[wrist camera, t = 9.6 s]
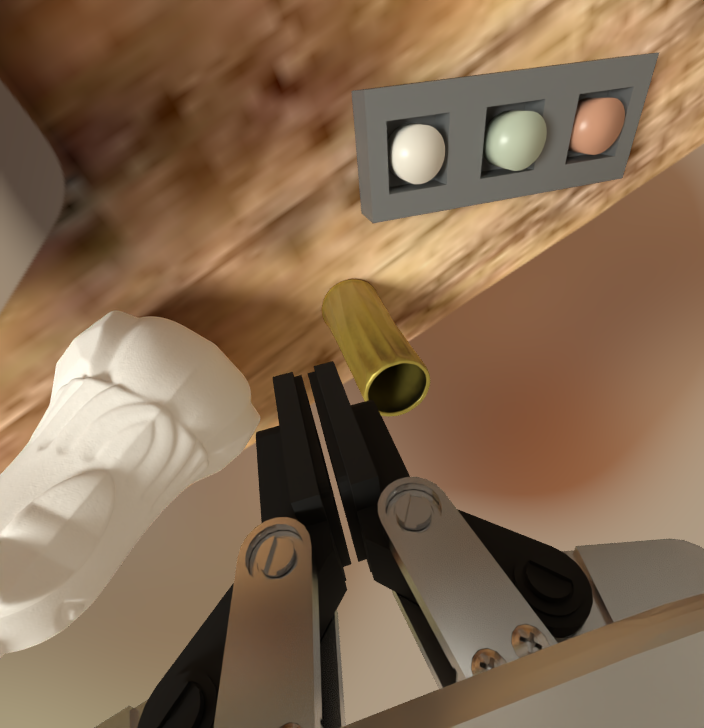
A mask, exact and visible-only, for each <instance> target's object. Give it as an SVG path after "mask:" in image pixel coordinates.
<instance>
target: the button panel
mask: <svg viewBox="0 0 704 728" xmlns="http://www.w3.org/2000/svg"><path fill="white" fill-rule="evenodd" d="M658 54H659V53H651V54H642V55H632V56H623V57H615V58H608V59H600V60H592V61H584V62H576V63H568V64H560V65H552V66H545V67H537V68H529V69H521V70H513V71H505V72H497V73H489V74H481V75H474V76H466V77H458V78H450V79H442V80H434V81H426V82H418V83H411V84H403V85H395V86H387V87H379V88H371V89H363V90H355V91H352V101H353V114H354V126H355V138H356V150H357V162H358V175H359V187H360V199H361V211H362V214H363V215H364V216H365V217H367V218H368V219H369V220H370V221H371V222H372V223H377V222H382V221H388V220H394V219H399V218H405V217H410V216H416V215H421V214H427V213H432V212H438V211H443V210H449V209H455V208H460V207H466V206H471V205H477V204H482V203H488V202H493V201H499V200H504V199H510V198H515V197H521V196H527V195H532V194H538V193H543V192H549V191H554V190H560V189H565V188H571V187H576V186H582V185H588V184H593V183H599V182H604V181H610V180H615V179H621V178H623V174H624V171H625V167H626V164H627V160H628V157H629V154H630V150H631V147H632V143H633V140H634V137H635V133H636V130H637V126H638V123H639V119H640V116H641V113H642V109H643V106H644V102H645V99H646V95H647V92H648V89H649V85H650V82H651V78H652V75H653V72H654V68H655V65H656V61H657V58H658ZM583 98H616V99H618V100H620V101H621V102H622V104H623V106H624V110H625V119H624V124H623V127H622V130H621V132H620V134H619V136H618V137H617V139H616V140H615V142H614V143H613V144H612V145H611V146H610V147H609V148H608V149H607V150H605V151H604V152H602V153H600V154H596V155H591V154H584V153H577V152H571V151H568V147H569V143H570V138H571V133H572V128H573V123H574V118H575V114H576V109H577V104H578V101H579V100H581V99H583ZM507 110H516V111H534V112H537V113H538V114H540V115H541V116H542V117H543V119H544V121H545V124H546V129H547V135H546V141H545V145H544V147H543V150H542V152H541V153H540V155H539V157H538V158H537V159H536V160H535V161H534V163H532V164H531V165H530V166H529V167H527V168H525V169H523V170H519V171H513V170H509V169H505V168H501V167H497V166H493V165H491V164H489V163H488V162H487V161H486V159H485V158H484V156H483V143H484V132H485V130H486V128H487V126H488V124H489V123H490V121H491V120H492V119H493V118H494V117H495V116H496V115H498V114H499V113H501V112H503V111H507ZM407 123H415V124H422V125H429V126H432V127H434V128H435V129H436V130H437V131H438V132H439V133H440V134H441V136H442V138H443V140H444V144H445V157H444V161H443V164H442V166H441V168H440V170H439V172H438V173H437V174H436V175H435V176H434V177H433V178H432V179H431V180H430V181H428V182H426V183H423V184H412V183H409V182H407V181H405V180H403V179H401V178H399V177H397V176H395V175H394V174H393V173H392V172H391V171H390V170H389V168H388V152H387V142H388V139H389V137H390V136H391V134H392V133H393V132H394V131H395V130H396V129H397V128H398V127H400V126H401V125H404V124H407Z"/></svg>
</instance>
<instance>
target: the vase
mask: <svg viewBox="0 0 704 728" xmlns="http://www.w3.org/2000/svg"><path fill="white" fill-rule="evenodd" d="M322 315H323V319H324V321H325V323H326V324H327V326H328V327H329V328H330V330H331V332H332V334H333V336H334V338H335V340H336V342H337V343H338V345H339V347H340V349H341V351H342V354H343V356H344V358H345V360H346V362H347V365H348V367H349V369H350V371H351V373H352V374H353V377H354V379H355V381H356V384H357V386H358V388H359V390H360V392H361V394H362V396H363V399H364V401H369V400H373V401H374V402H375V404H376V406H377V408H378V410H379V412H380V414H381V416H397V415H401V414H404V413H407V412H409V411H410V410H412V409H413V408H415V407H416V406H417V405H419V404H420V403H421V402H422V400H423V399H424V398H425V396H426V394H427V392H428V389H429V386H430V375H429V372H428V370H427V367H426V366H425V364H424V363H423V361H422V360H421V359H420V357H419V356H418V355H417V353H416V352H415V351H414V349H413V348H412V347H411V346H410V344H409V342H408V341H407V340H406V338H405V337H404V336H403V334H402V333H401V332H400V330H399V329H398V327H397V326H396V324H395V323H394V321H393V320H392V318H391V317H390V315H389V313H388V311H387V310H386V308H385V306H384V304H383V303H382V301H381V300H380V298H379V296H378V294H377V292H376V290H375V289H374V287H372V286H371V285H370V284H369V283H367V282H365V281H362V280H356V279H350V280H345V281H342V282H340V283H338V284H336V285H335V286H333V287H332V288H331V289H330V290H329V291H328V293H327V294H326V296H325V298H324V301H323V305H322Z"/></svg>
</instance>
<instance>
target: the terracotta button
mask: <svg viewBox="0 0 704 728" xmlns="http://www.w3.org/2000/svg"><path fill="white" fill-rule="evenodd" d="M624 119H625V110H624V106H623V104H622V102H621V101H620V100H618V99H616V98H583V99H581V100H579V101H578V104H577V109H576V114H575V118H574V123H573V128H572V133H571V138H570V143H569V147H568V151H571V152H577V153H584V154H591V155H596V154H600V153H602V152H604V151H605V150H607V149H608V148H609V147H610V146H611V145H612V144H613V143H614V142H615V140H616V139H617V137H618V136H619V134H620V132H621V130H622V127H623V124H624Z"/></svg>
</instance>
